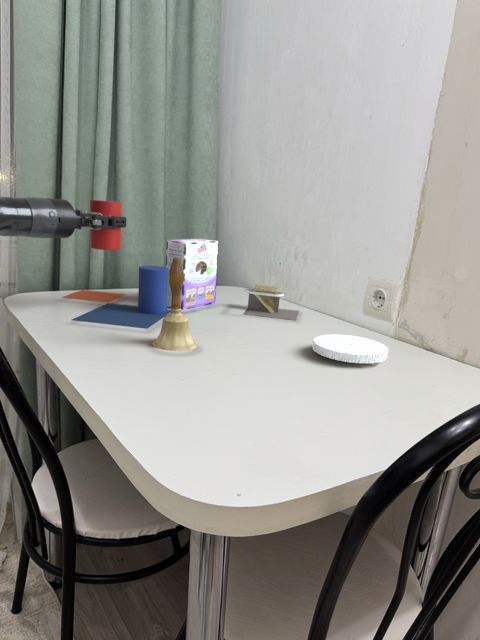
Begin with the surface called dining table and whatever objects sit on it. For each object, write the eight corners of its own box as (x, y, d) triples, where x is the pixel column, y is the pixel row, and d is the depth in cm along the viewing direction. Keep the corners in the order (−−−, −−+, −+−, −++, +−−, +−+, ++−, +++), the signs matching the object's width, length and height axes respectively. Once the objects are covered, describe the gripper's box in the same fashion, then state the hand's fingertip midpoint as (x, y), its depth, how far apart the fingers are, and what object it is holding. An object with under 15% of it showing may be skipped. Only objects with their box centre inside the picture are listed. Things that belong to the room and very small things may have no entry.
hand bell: (158, 354, 87) (161, 260, 83) (146, 340, 94) (148, 254, 90) (204, 351, 91) (209, 262, 86) (189, 339, 98) (193, 256, 93)
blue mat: (70, 321, 102) (70, 319, 102) (108, 304, 121) (108, 303, 120) (147, 330, 101) (147, 328, 101) (173, 311, 119) (173, 310, 119)
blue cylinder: (134, 312, 113) (134, 267, 111) (143, 307, 119) (144, 264, 117) (161, 315, 113) (163, 270, 110) (169, 310, 119) (171, 267, 116)
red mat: (60, 298, 122) (60, 297, 122) (83, 291, 133) (82, 289, 133) (108, 304, 121) (108, 302, 121) (127, 295, 133) (127, 294, 132)
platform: (295, 320, 122) (298, 293, 120) (223, 311, 124) (224, 285, 122) (299, 310, 134) (301, 286, 132) (232, 303, 135) (234, 278, 134)
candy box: (197, 300, 134) (201, 238, 130) (215, 304, 132) (219, 240, 127) (163, 307, 123) (165, 238, 118) (182, 311, 120) (185, 241, 116)
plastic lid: (297, 354, 94) (298, 341, 93) (334, 342, 105) (336, 330, 104) (365, 374, 86) (367, 360, 86) (398, 359, 97) (400, 346, 96)
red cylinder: (85, 248, 108) (85, 199, 105) (97, 245, 114) (97, 200, 111) (114, 251, 108) (114, 202, 105) (125, 248, 114) (125, 202, 111)
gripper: (24, 233, 103) (94, 234, 116) (66, 242, 95) (136, 241, 108) (23, 195, 101) (94, 200, 114) (66, 200, 93) (137, 205, 106)
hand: (114, 220), depth 111 cm, fingers closed on red cylinder, 6 cm apart
